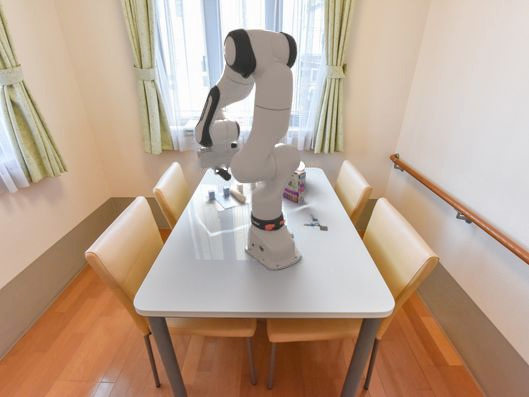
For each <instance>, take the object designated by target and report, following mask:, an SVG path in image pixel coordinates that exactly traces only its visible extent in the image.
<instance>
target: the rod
mask: <svg viewBox="0 0 529 397" xmlns="http://www.w3.org/2000/svg"><path fill="white" fill-rule="evenodd" d="M228 187H229V191H230V192H231V193H232V194H233V195H234V196H235V197H236V198H237V199H238V200H240V201H241V202H245V201H246V197H245V196H244V195H242V194H241V193H240V192H239V191H238V190H236V189H237V188H235V187H234V186H228Z"/></svg>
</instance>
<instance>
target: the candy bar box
mask: <svg viewBox="0 0 529 397" xmlns="http://www.w3.org/2000/svg"><path fill="white" fill-rule="evenodd" d="M306 175H307V172H306V171H301V170H298V169H297V170H296V171H295V172H294V173H293V174H292V175H291V177H290V179H289V181H288V182H287V185H286V187H285V190H284V193H283V198H286V199H288V200H290V201H292V202H293V203H296V204H299V203H301V202H304V201H305V200H304V199H305V187H306Z"/></svg>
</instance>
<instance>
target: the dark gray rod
mask: <svg viewBox="0 0 529 397" xmlns="http://www.w3.org/2000/svg"><path fill="white" fill-rule="evenodd" d="M210 169H211V170H212V171H214V170H213V169H212V168H211V167H210ZM215 170H217V171H218V176H220V178H222V179H223V180H224V181H225V182H229V181H230V180H231V179H232V173H229V171H228V172H227V171H225V170H224V168H223V167H222V166H221V165H220V166H216V168H215Z"/></svg>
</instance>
